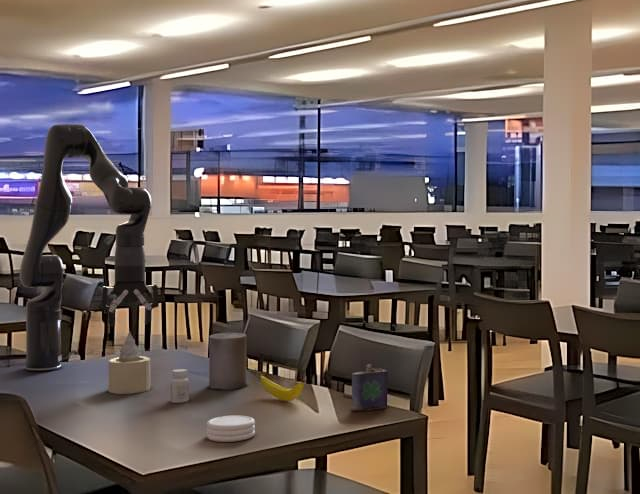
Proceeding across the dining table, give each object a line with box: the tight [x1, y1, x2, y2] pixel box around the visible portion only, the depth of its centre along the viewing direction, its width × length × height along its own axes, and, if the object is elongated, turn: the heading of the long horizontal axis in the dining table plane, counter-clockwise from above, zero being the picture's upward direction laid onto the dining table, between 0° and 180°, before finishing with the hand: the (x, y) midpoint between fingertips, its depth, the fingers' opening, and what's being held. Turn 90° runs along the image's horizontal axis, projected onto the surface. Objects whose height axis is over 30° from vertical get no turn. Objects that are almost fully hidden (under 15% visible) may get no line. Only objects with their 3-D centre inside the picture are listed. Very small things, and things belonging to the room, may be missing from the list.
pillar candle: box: [208, 330, 247, 391], centre depth 256 cm, size 10×10×15 cm
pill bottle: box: [169, 368, 190, 404], centre depth 237 cm, size 4×4×8 cm
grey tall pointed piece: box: [119, 330, 140, 362], centre depth 251 cm, size 5×5×15 cm
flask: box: [351, 363, 389, 412], centre depth 230 cm, size 9×3×11 cm, turn 121°
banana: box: [259, 375, 306, 402], centre depth 239 cm, size 3×19×6 cm, turn 45°
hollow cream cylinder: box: [108, 355, 151, 395], centre depth 251 cm, size 10×10×8 cm
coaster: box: [206, 414, 256, 443], centre depth 203 cm, size 10×10×4 cm
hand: (129, 325), depth 251 cm, fingers open, 8 cm apart
